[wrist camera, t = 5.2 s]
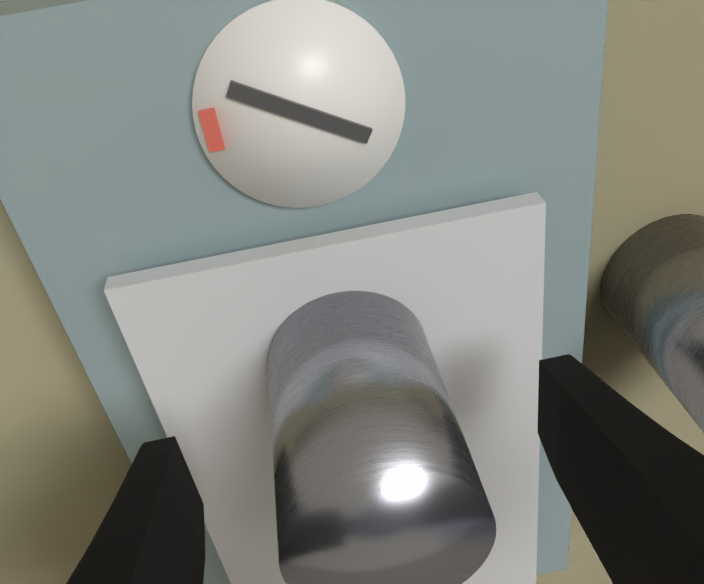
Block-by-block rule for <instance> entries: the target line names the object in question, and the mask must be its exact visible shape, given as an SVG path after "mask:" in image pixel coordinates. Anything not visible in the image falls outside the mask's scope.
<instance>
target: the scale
mask: <svg viewBox="0 0 704 584" xmlns="http://www.w3.org/2000/svg"><path fill="white" fill-rule="evenodd" d="M607 6H608V0H8V1H2V2H0V199H1V201H2V203H3V205H4V207H5V210H6V212H7V214H8V216H9V218H10V220H11V222H12V224H13V226H14V228H15V230H16V232H17V234H18V236H19V238H20V240H21V242H22V244H23V246H24V248H25V250H26V252H27V254H28V256H29V258H30V260H31V262H32V264H33V266H34V268H35V270H36V272H37V274H38V276H39V278H40V280H41V282H42V284H43V286H44V288H45V290H46V292H47V294H48V296H49V298H50V300H51V302H52V304H53V306H54V308H55V310H56V312H57V314H58V316H59V318H60V320H61V323H62V325H63V327H64V329H65V331H66V333H67V335H68V337H69V339H70V341H71V343H72V345H73V347H74V349H75V351H76V353H77V355H78V357H79V359H80V361H81V363H82V365H83V367H84V369H85V371H86V373H87V375H88V377H89V379H90V381H91V383H92V385H93V387H94V389H95V391H96V393H97V395H98V397H99V399H100V401H101V403H102V405H103V407H104V409H105V411H106V413H107V415H108V417H109V419H110V421H111V423H112V425H113V427H114V429H115V431H116V433H117V436H118V438H119V440H120V442H121V444H122V446H123V448H124V450H125V452H126V454H127V456H128V458H129V460H130V462H131V464H132V463H133V461H134V459H135V456H136V454H137V452H138V450H139V448H140V447H141V445H142V444H143V443H144V442H149V441H154V440H159V439H163V438H168V437H173V436H175V438H176V440H177V442H178V445H179V447H180V449H181V452H182V454H183V456H184V459H185V461H186V463H187V466H188V468H189V470H190V473H191V475H192V478H193V480H194V482H195V485H196V487H197V489H198V492H199V494H200V496H201V499H202V501H203V503H204V524H205V568H204V580H203V584H286V583H285V581H284V579H283V577H282V575H281V572H280V567H279V557H278V540H277V522H276V505H275V488H274V470H273V453H272V435H271V418H270V401H269V383H268V366H267V356H268V350H269V346H270V343H271V340H272V338H273V336H274V334H275V332H276V331H277V329H278V328H279V326H280V325H281V324H282V322H283V321H284V320H285V319H286V318H287V317H288V316H289V315H290V314H292V313H293V312H294V311H295V310H297V309H298V308H300V307H301V306H303V305H304V304H306V303H308V302H310V301H312V300H314V299H316V298H319V297H322V296H325V295H328V294H332V293H337V292H344V291H368V292H374V293H379V294H382V295H385V296H388V297H391V298H393V299H395V300H397V301H399V302H400V303H402V304H403V305H404V306H406V307H407V308H408V309H409V310H410V311H411V312H413V313H414V315H415V316H416V317H417V319H418V320H419V322H420V324H421V325H422V327H423V330H424V332H425V335H426V338H427V340H428V343H429V346H430V348H431V351H432V354H433V356H434V359H435V361H436V364H437V367H438V369H439V372H440V375H441V377H442V380H443V382H444V385H445V388H446V390H447V393H448V396H449V398H450V401H451V404H452V406H453V409H454V411H455V414H456V417H457V419H458V422H459V425H460V427H461V430H462V433H463V435H464V438H465V440H466V443H467V446H468V448H469V451H470V454H471V456H472V459H473V462H474V464H475V467H476V469H477V472H478V475H479V477H480V480H481V483H482V485H483V488H484V491H485V493H486V496H487V498H488V501H489V504H490V506H491V509H492V512H493V514H494V518H495V521H496V538H495V542H494V545H493V548H492V550H491V552H490V554H489V556H488V557H487V559H486V560H485V562H484V563H483V564H482V566H481V567H480V568H479V569H478V570H477V571H476V572H475V573H474V574H473V575H472V576H471V577H470V578H469V579H467V580H466V581H465V582H464V583H462V584H536V575H540V574H545V573H550V572H554V571H559V570H563V569H567V566H568V552H569V538H570V524H571V510H572V508H571V506H570V504H569V502H568V500H567V499H566V497H565V495H564V493H563V491H562V489H561V488H560V486H559V484H558V482H557V480H556V478H555V475H554V473H553V471H552V468H551V466H550V463H549V461H548V458H547V456H546V453H545V451H544V448H543V446H542V443H541V441H540V438H539V435H538V433H537V431H538V387H539V360H543V359H547V358H552V357H557V356H562V355H567V354H570V355H572V356H573V357H574V358H576V359H577V360H578V361H579V362H581V363H582V356H583V342H584V328H585V314H586V300H587V286H588V272H589V258H590V244H591V230H592V216H593V202H594V188H595V174H596V160H597V146H598V132H599V118H600V104H601V90H602V76H603V62H604V48H605V34H606V20H607Z"/></svg>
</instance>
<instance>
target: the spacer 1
mask: <svg viewBox="0 0 704 584" xmlns="http://www.w3.org/2000/svg"><path fill="white" fill-rule="evenodd" d="M267 366H268V383H269V401H270V418H271V435H272V453H273V470H274V488H275V505H276V522H277V540H278V557H279V567H280V572H281V575H282V577H283V579H284V581H285V583H286V584H462V583H464V582H465V581H466V580H467V579H469V578H470V577H471V576H472V575H473V574H474V573H475V572H476V571H477V570H478V569H479V568H480V567H481V566H482V564H483V563H484V562H485V560H486V559H487V557H488V556H489V554H490V552H491V550H492V548H493V545H494V542H495V538H496V521H495V518H494V514H493V512H492V509H491V506H490V504H489V501H488V498H487V496H486V493H485V491H484V488H483V485H482V483H481V480H480V477H479V475H478V472H477V469H476V467H475V464H474V462H473V459H472V456H471V454H470V451H469V448H468V446H467V443H466V440H465V438H464V435H463V433H462V430H461V427H460V425H459V422H458V419H457V417H456V414H455V411H454V409H453V406H452V404H451V401H450V398H449V396H448V393H447V390H446V388H445V385H444V382H443V380H442V377H441V375H440V372H439V369H438V367H437V364H436V361H435V359H434V356H433V354H432V351H431V348H430V346H429V343H428V340H427V338H426V335H425V332H424V330H423V327H422V325H421V324H420V322H419V320H418V319H417V317H416V316H415V315H414V313H413V312H411V311H410V310H409V309H408V308H407V307H406V306H404V305H403V304H402V303H400V302H399V301H397V300H395V299H393V298H391V297H388V296H385V295H382V294H379V293H374V292H368V291H344V292H337V293H332V294H328V295H325V296H322V297H319V298H316V299H314V300H312V301H310V302H308V303H306V304H304V305H303V306H301V307H300V308H298V309H297V310H295V311H294V312H293V313H292V314H290V315H289V316H288V317H287V318H286V319H285V320H284V321H283V322H282V324H281V325H280V326H279V328H278V329H277V331H276V332H275V334H274V336H273V338H272V340H271V343H270V346H269V350H268V356H267Z"/></svg>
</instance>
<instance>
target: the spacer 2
mask: <svg viewBox="0 0 704 584" xmlns="http://www.w3.org/2000/svg"><path fill="white" fill-rule="evenodd" d="M601 295H602V300H603V303H604V305H605V307H606V309H607V310H608V312H609V313H610V314H611V316H612V317H613V318H614V319H615V321H616V322H617V323H618V324H619V326H620V327H621V328H622V330H623V331H624V332H625V333H626V335H627V336H628V337H629V338H630V340H631V341H632V342H633V343H634V345H635V346H636V347H637V349H638V350H639V351H640V352H641V354H642V355H643V356H644V357H645V359H646V360H647V361H648V363H649V364H650V365H651V366H652V368H653V369H654V370H655V371H656V373H657V374H658V375H659V376H660V378H661V379H662V380H663V382H664V383H665V384H666V385H667V387H668V388H669V389H670V390H671V392H672V393H673V394H674V396H675V397H676V398H677V399H678V401H679V402H680V403H681V404H682V406H683V407H684V408H685V410H686V411H687V412H688V413H689V415H690V416H691V417H692V418H693V420H694V421H695V422H696V423H697V425H698V426H699V427H700V429H701V430H702V431H703V432H704V217H703V216H699V215H693V214H680V215H673V216H669V217H665V218H662V219H660V220H657V221H654V222H652V223H650V224H648V225H646V226H645V227H643V228H641V229H640V230H638V231H637V232H636V233H634V234H633V235H632V236H630V237H629V238H628V239H627V240H626V241H625V242H624V243H623V244H622V245H621V246H620V247H619V248H618V249H617V251H616V252H615V253H614V255H613V256H612V258H611V259H610V261H609V263H608V264H607V267H606V269H605V271H604V274H603V278H602V283H601Z"/></svg>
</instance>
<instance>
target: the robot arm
mask: <svg viewBox="0 0 704 584" xmlns="http://www.w3.org/2000/svg"><path fill="white" fill-rule="evenodd" d="M537 433H538V435H539V438H540V441H541V443H542V446H543V448H544V451H545V453H546V456H547V458H548V461H549V463H550V466H551V468H552V471H553V473H554V475H555V478H556V480H557V482H558V484H559V486H560V488H561V489H562V491H563V493H564V495H565V497H566V499H567V500H568V502H569V504H570V506H571V508H572V510H573V511H574V513H575V515H576V517H577V519H578V521H579V522H580V524H581V526H582V528H583V530H584V531H585V533H586V535H587V537H588V539H589V540H590V542H591V544H592V546H593V548H594V550H595V551H596V553H597V555H598V557H599V559H600V560H601V562H602V564H603V566H604V568H605V569H606V571H607V573H608V575H609V577H610V579H611V580H612V582H613V584H704V455H702V454H701V453H699V452H698V451H696V450H695V449H693V448H692V447H690V446H689V445H688V444H686V443H685V442H683V441H682V440H680V439H679V438H677V437H676V436H674V435H673V434H672V433H670V432H669V431H667V430H666V429H665V428H663V427H662V426H661V425H659V424H658V423H657V422H655V421H654V420H652V419H651V418H650V417H648V416H647V415H646V414H644V413H643V412H642V411H640V410H639V409H638V408H636V407H635V406H634V405H633V404H631V403H630V402H629V401H627V400H626V399H625V398H624V397H622V396H621V395H620V394H619V393H617V392H616V391H615V390H614V389H612V388H611V387H610V386H609V385H607V384H606V383H605V382H604V381H602V380H601V379H600V378H599V377H598V376H596V375H595V374H594V373H593V372H591V371H590V370H589V369H588V368H587V367H585V366H584V365H583V364H582V363H581V362H579V361H578V360H577V359H576V358H574V357H573V356H572V355H570V354H567V355H562V356H557V357H552V358H547V359H543V360H539V387H538V431H537ZM204 568H205V524H204V503H203V501H202V499H201V496H200V494H199V492H198V489H197V487H196V485H195V482H194V480H193V478H192V475H191V473H190V470H189V468H188V466H187V463H186V461H185V459H184V456H183V454H182V452H181V449H180V447H179V445H178V442H177V440H176V438H175V436H173V437H168V438H163V439H159V440H154V441H149V442H144V443H143V444H142V445H141V447H140V448H139V450H138V452H137V454H136V456H135V459H134V461H133V463H132V465H131V467H130V469H129V471H128V473H127V475H126V477H125V479H124V481H123V483H122V485H121V487H120V489H119V491H118V493H117V495H116V497H115V499H114V501H113V503H112V505H111V507H110V509H109V510H108V512H107V514H106V516H105V518H104V520H103V521H102V523H101V525H100V527H99V529H98V531H97V532H96V534H95V536H94V538H93V540H92V542H91V543H90V545H89V547H88V549H87V550H86V552H85V554H84V555H83V557H82V559H81V560H80V562H79V564H78V565H77V567H76V569H75V570H74V572H73V573H72V575H71V577H70V578H69V580H68V582H67V583H66V584H203V580H204Z"/></svg>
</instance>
